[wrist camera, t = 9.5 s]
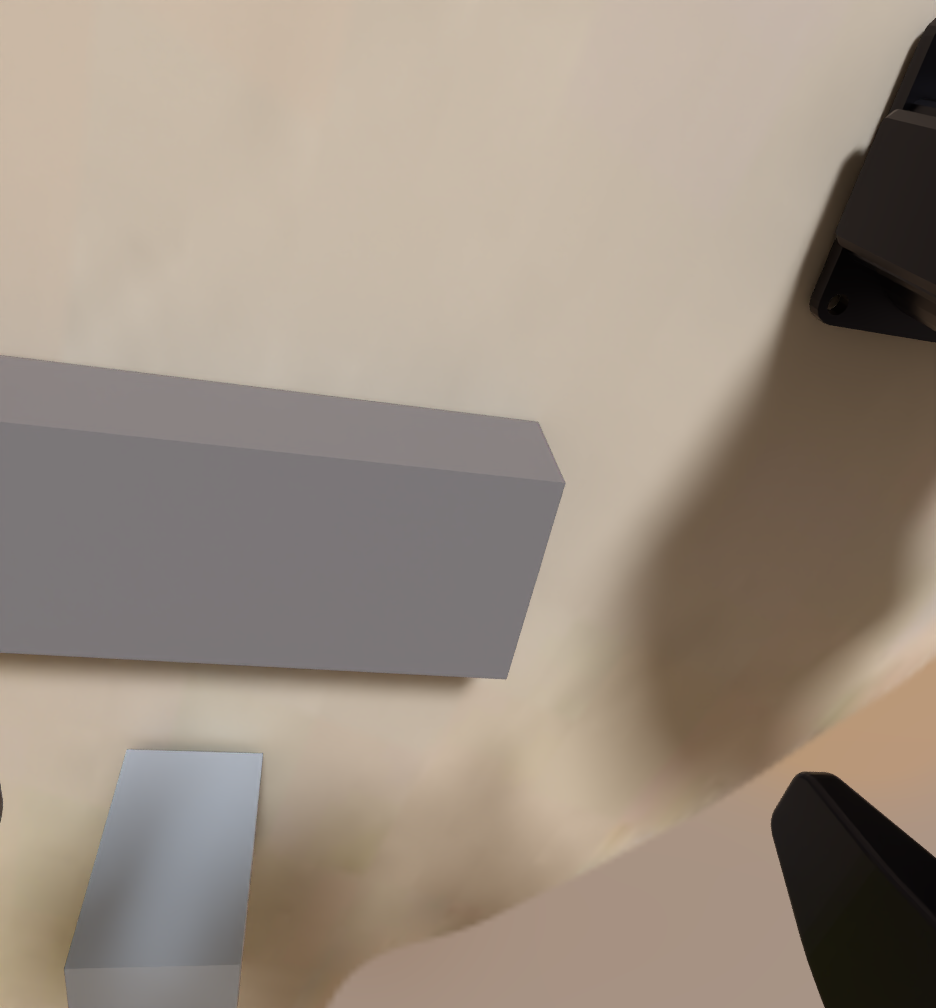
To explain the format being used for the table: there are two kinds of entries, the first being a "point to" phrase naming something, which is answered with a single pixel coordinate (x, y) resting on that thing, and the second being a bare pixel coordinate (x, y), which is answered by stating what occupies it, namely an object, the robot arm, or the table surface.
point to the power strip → (263, 525)
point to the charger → (169, 885)
